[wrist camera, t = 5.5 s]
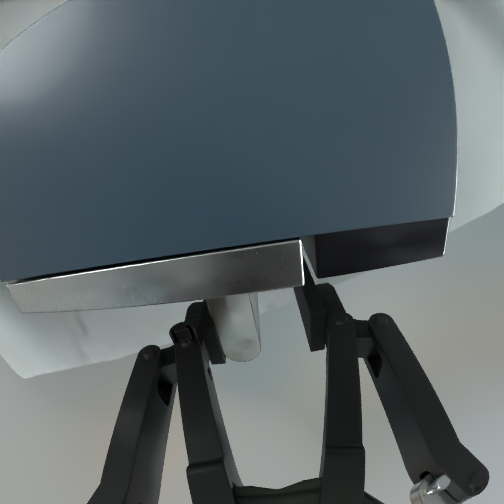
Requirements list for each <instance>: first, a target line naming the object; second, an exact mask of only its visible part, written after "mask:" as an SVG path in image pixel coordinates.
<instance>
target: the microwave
mask: <svg viewBox="0 0 504 504" xmlns="http://www.w3.org/2000/svg"><path fill="white" fill-rule="evenodd" d="M457 162H458V138H457V116H456V104H455V94H454V86H453V79H452V72H451V66H450V61H449V55H448V51H447V46H446V42H445V37H444V33H443V29H442V26H441V22H440V19H439V15H438V12H437V9H436V6H435V3H434V0H69V1H67V2H65V3H64V4H62V5H60V6H59V7H57V8H56V9H54V10H53V11H51V12H49V13H48V14H46V15H45V16H44V17H42V18H41V19H39V20H38V21H36V22H35V23H34V24H32V25H31V26H30V27H28V28H27V29H26V30H24V31H23V32H22V33H21V34H19V35H18V36H17V37H16V38H15V39H13V40H12V41H11V42H10V43H9V44H7V45H6V46H5V47H4V48H3V49H2V50H1V51H0V279H1V281H2V282H3V281H9V280H15V279H21V278H28V277H34V276H40V275H46V274H52V273H58V272H65V271H71V270H77V269H84V268H90V267H96V266H103V265H109V264H116V263H122V262H129V261H136V260H142V259H149V258H155V257H162V256H169V255H176V254H182V253H189V252H196V251H203V250H210V249H217V248H224V247H231V246H238V245H245V244H252V243H259V242H266V241H273V240H280V239H288V238H295V237H300V239H301V242H302V244H303V246H304V249H305V251H306V253H307V256H308V258H309V260H310V263H311V265H312V268H313V270H314V272H315V275H316V277H317V278H319V279H320V278H326V277H332V276H339V275H345V274H351V273H356V272H362V271H368V270H374V269H379V268H384V267H390V266H395V265H401V264H406V263H411V262H416V261H422V260H426V259H431V258H436V257H441V256H443V255H444V251H445V245H446V239H447V233H448V226H449V218H450V217H453V216H454V208H455V198H456V185H457Z"/></svg>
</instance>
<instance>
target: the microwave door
mask: <svg viewBox="0 0 504 504" xmlns="http://www.w3.org/2000/svg"><path fill="white" fill-rule="evenodd" d="M303 285H304V271H303V258H302V245H301V239H300V237H295V238H288V239H280V240H273V241H266V242H259V243H252V244H245V245H238V246H231V247H224V248H217V249H210V250H203V251H196V252H189V253H182V254H176V255H169V256H162V257H155V258H149V259H142V260H136V261H129V262H122V263H116V264H109V265H103V266H96V267H90V268H84V269H77V270H71V271H65V272H58V273H52V274H46V275H40V276H34V277H28V278H21V279H15V280H11V281H10V282H9V283H8V284H7V288H8V290H9V292H10V294H11V296H12V297H13V299H14V301H15V303H16V305H17V307H18V308H19V310H20V312H21V313H45V312H66V311H83V310H98V309H111V308H123V307H135V306H146V305H156V304H166V303H176V302H185V301H194V300H202V299H206V302H207V306H208V309H209V312H210V315H211V318H212V321H213V324H214V326H215V330H216V333H217V336H218V339H219V342H220V345H221V348H222V351H223V353H224V355H225V356H226V357H227V358H229V359H231V360H233V361H238V362H246V361H250V360H252V359H254V358H256V357H257V356H258V355H259V353H260V351H261V344H260V328H259V312H258V296H257V292H263V291H270V290H277V289H284V288H290V287H297V286H303Z"/></svg>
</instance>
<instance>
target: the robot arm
mask: <svg viewBox="0 0 504 504" xmlns="http://www.w3.org/2000/svg"><path fill="white" fill-rule="evenodd" d="M302 258H303V271H304V285H303V286H297V287H293V288H294V292H295V295H296V299H297V303H298V306H299V310H300V313H301V317H302V321H303V324H304V327H305V332H306V335H307V339H308V343H309V347H310V350H311V352H313V351H318V350H323V349H324V348H325V345H326V348H327V355H326V356H327V357H326V396H325V417H324V432H323V445H322V456H321V466H320V473H319V478H314V479H309V480H303V481H301V482H298V483H295V484H293V485H290V486H287V487H284V488H282V489H269V488H262V487H254V486H243V484H242V481H241V479H240V477H239V475H238V471H237V468H236V465H235V462H234V458H233V455H232V451H231V448H230V444H229V441H228V437H227V433H226V430H225V426H224V422H223V418H222V414H221V410H220V406H219V403H218V398H217V394H216V390H215V386H214V381H213V377H212V372H211V369H210V367H209V360H210V361H211V363H212V364H223V363H226V356H225V355H224V353H223V351H222V348H221V345H220V342H219V339H218V336H217V333H216V330H215V326H214V324H213V321H212V318H211V315H210V312H209V309H208V306H207V302H206V299H204V300H203V302H195V303H192V304H191V305H190V306H189V307H188V309H187V313H186V317H185V321H184V322H180V323H178V324H176V325H174V326H173V327H172V328H171V329H170V332H169V334H170V337H171V339H172V341H173V343H174V345H173V346H171V347H169V348H165V349H162V350H160V348H159V347H158V346H156V345H149V346H146V347H144V348H143V349H141V350H140V352H139V354H138V356H137V359H136V362H135V365H134V368H133V371H132V373H131V376H130V379H129V382H128V385H127V388H126V392H125V395H124V398H123V401H122V404H121V407H120V411H119V414H118V417H117V421H116V424H115V427H114V431H113V435H112V438H111V442H110V446H109V449H108V453H107V457H106V461H105V465H104V469H103V474H102V478H101V483H100V485H99V486H98V488H97V489H96V491H95V492H94V494H93V495H92V497H91V499H90V500H89V502H88V503H87V504H158V500H159V494H160V487H161V479H162V472H163V465H164V458H165V451H166V444H167V439H168V432H169V426H170V420H171V415H172V409H173V404H174V397H175V393H176V387H177V383H178V392H179V400H180V408H181V416H182V423H183V430H184V437H185V443H186V449H187V455H188V461H189V466H188V467H187V470H186V473H187V479H188V484H189V489H190V494H191V499H192V503H193V504H384V503H382V502H381V501H379V500H378V499H376V498H374V497H373V496H371V495H370V494H368V493H366V492H365V491H364V483H365V449H364V447H363V444H362V411H361V391H360V376H359V365H358V358H363V359H364V361H365V364H366V365H367V368H368V370H369V373H370V375H371V377H372V380H373V382H374V385H375V387H376V390H377V392H378V395H379V397H380V400H381V402H382V405H383V407H384V410H385V412H386V415H387V418H388V420H389V423H390V425H391V428H392V431H393V433H394V436H395V439H396V442H397V445H398V447H399V450H400V453H401V456H402V459H403V462H404V465H405V468H406V470H407V472H408V475H409V477H410V479H411V480H412V482H413V484H414V486H413V488H412V489H411V492H410V500H411V503H412V504H462V503H463V502H464V501H466V500H467V499H470V498H472V497H474V496H476V495H478V494H480V493H481V492H482V491H483V490H484V489H485V488H486V486H487V484H488V481H489V472H488V470H487V468H486V467H485V466H484V465H483V464H482V463H481V462H480V461H479V460H478V459H477V458H476V457H475V456H474V455H473V454H472V453H470V451H469V450H468V449H466V448H465V447H464V446H463V445H462V444H461V443H460V441H459V439H458V437H457V435H456V433H455V430H454V428H453V426H452V424H451V422H450V420H449V418H448V416H447V414H446V412H445V410H444V408H443V406H442V404H441V402H440V400H439V398H438V396H437V394H436V392H435V390H434V389H433V387H432V385H431V383H430V381H429V379H428V378H427V376H426V374H425V373H424V370H423V369H422V367H421V365H420V363H419V362H418V360H417V358H416V356H415V355H414V353H413V351H412V350H411V348H410V346H409V345H408V343H407V342H406V340H405V338H404V336H403V335H402V333H401V332H400V330H399V328H398V327H397V325H396V324H395V322H394V320H393V319H392V318H391V317H390V316H389V315H387V314H384V313H376V314H374V315H372V316H371V317H370V319H369V321H366V320H356V319H353V317H352V316H351V315H349V314H347V313H346V311H345V309H344V307H343V305H342V303H341V301H340V299H339V297H338V295H337V293H336V291H335V289H334V287H333V286H332V285H330V284H329V283H324V284H318V285H315V283H314V281H313V278H312V276H311V273H310V271H309V268H308V266H307V264H306V261H305V259H304V257H303V254H302Z"/></svg>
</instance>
